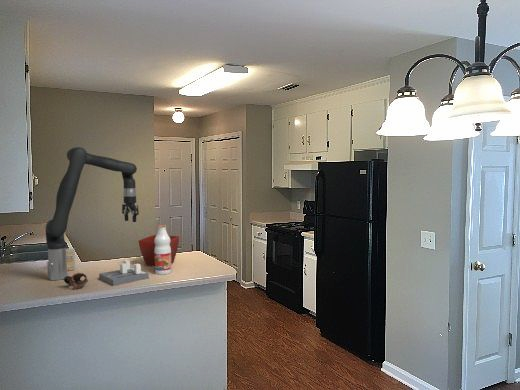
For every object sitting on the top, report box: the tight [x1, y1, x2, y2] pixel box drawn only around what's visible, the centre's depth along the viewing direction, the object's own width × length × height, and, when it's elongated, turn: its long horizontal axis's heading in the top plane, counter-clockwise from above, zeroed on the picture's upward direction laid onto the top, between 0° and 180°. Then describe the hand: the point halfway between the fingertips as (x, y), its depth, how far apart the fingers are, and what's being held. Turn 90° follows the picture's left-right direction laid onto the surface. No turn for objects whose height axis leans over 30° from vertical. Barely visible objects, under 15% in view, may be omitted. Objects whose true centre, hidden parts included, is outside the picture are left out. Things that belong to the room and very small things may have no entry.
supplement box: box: [66, 247, 76, 272], centre depth 255 cm, size 8×5×13 cm, turn 105°
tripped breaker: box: [119, 262, 127, 274], centre depth 234 cm, size 2×3×5 cm
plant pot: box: [138, 234, 180, 268], centre depth 266 cm, size 19×19×17 cm
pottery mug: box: [63, 272, 89, 290], centre depth 219 cm, size 12×10×8 cm
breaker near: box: [133, 263, 142, 274], centre depth 232 cm, size 2×3×5 cm
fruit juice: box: [154, 224, 173, 276], centre depth 245 cm, size 9×9×28 cm
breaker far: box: [123, 259, 131, 270], centre depth 242 cm, size 2×3×5 cm
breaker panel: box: [98, 266, 150, 287], centre depth 234 cm, size 20×19×3 cm
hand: (130, 221), depth 262 cm, fingers open, 8 cm apart
